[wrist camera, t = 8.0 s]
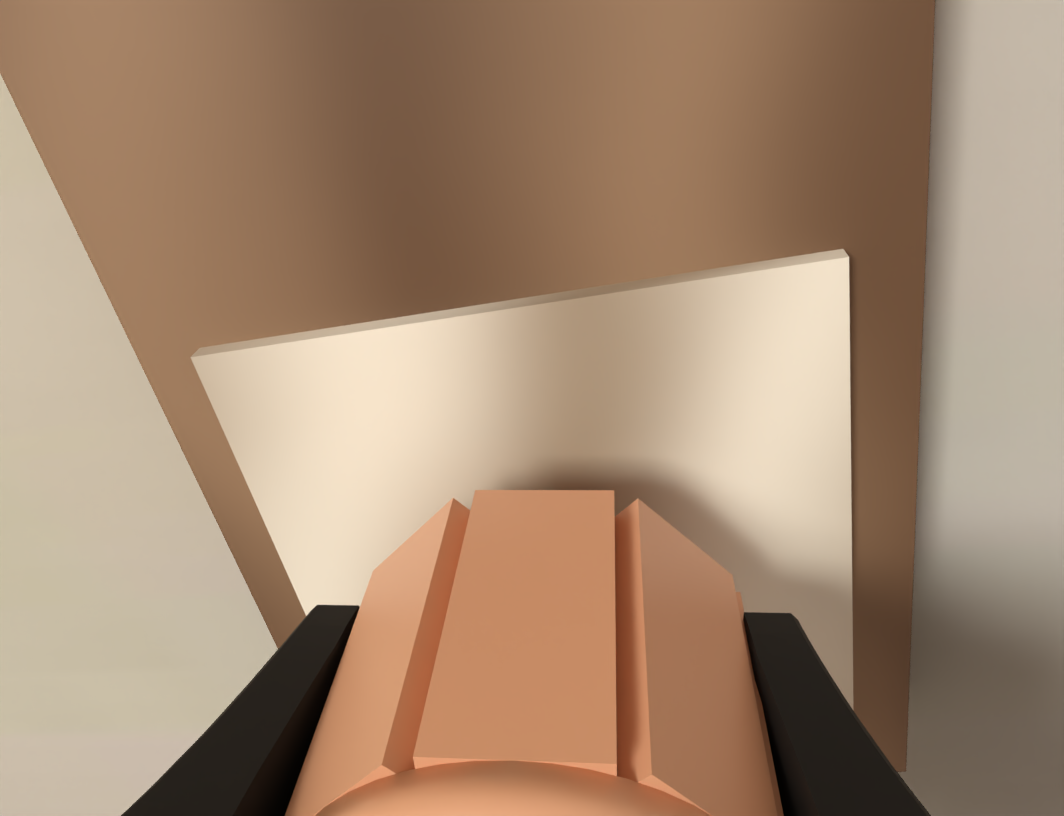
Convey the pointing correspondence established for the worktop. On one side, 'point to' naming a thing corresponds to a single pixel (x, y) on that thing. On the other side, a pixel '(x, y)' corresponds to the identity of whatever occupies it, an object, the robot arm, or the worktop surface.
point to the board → (520, 274)
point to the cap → (543, 673)
